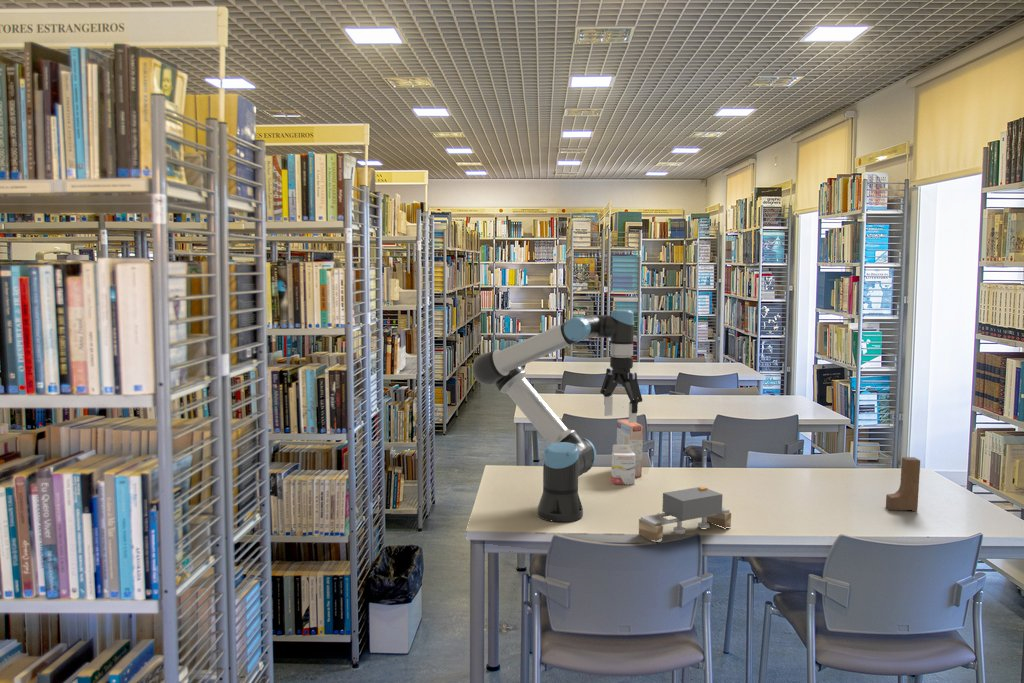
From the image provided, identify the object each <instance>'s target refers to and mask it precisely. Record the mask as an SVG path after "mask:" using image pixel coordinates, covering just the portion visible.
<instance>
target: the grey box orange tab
mask: <svg viewBox="0 0 1024 683" xmlns="http://www.w3.org/2000/svg"><path fill="white" fill-rule="evenodd" d="M722 507H723V494H722V493H719V492H718V491H715V490H711V489H710V488H708V487H706V486H697V487H692V488H685V489H679V490H673V491H667V492H662V511H661V512H662V513H667V514H669V515H671V516H670V517H673V516H674V517H673V518H675V519H676V518H678V519H680V520H686V521H688V520H687V519H691V520H693V519H692V518H696V519H699V518H698V517H702V518H701V521H699V522H697V528H698V527H700V528H709V529H710V524H711V523H708V522H706V517H703V516H708V515H714V514H719V513H722ZM682 525H683V521H680V522H676V526H674V527H672V528H673V531H672V532H673V534H677V535H684V533H685V534H686V528H685V527H683V526H682ZM700 528H699V529H700Z"/></svg>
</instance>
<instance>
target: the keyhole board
mask: <svg viewBox="0 0 1024 683" xmlns="http://www.w3.org/2000/svg"><path fill="white" fill-rule="evenodd" d="M666 517H673V518H672V519H671V518H670V519H668V518H666ZM703 517H706V521H708V522H710V523H709V524H711V523H713V524H716V525H719V526H722V527H724V528H726V527H731V526H732V525H731V524H732V512H731V511H730V509H729V508H726V507H724V506H722V513H719V514H714V515H708V516H703ZM695 519H702V517H698V518H692V519H687V520H680V519H678V518H676V517H674V516H671V515H669V514H667V513H665V512H662V513H656V514H651V515H645V516H640V518H638V535H639V534H640V535H642V536H643V537H642V536H641V537H642V538H644V537H645V539H646V540H648V539H649V541H650V540H655V541H657V540H659V539H661V538H662V537H663V538H664V525H668V524H669V525H670V524H675V523H677V522H680V521H682V522H684V521H685V522H686V521H690V520H691V521H692V520H695ZM708 522H707V523H708ZM713 524H712V525H713ZM640 535H639V536H640Z"/></svg>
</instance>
